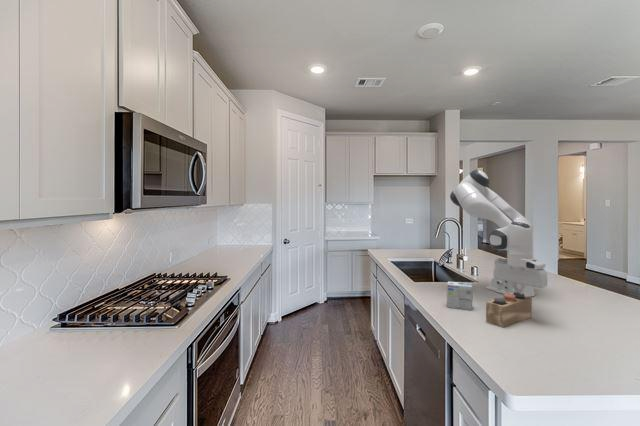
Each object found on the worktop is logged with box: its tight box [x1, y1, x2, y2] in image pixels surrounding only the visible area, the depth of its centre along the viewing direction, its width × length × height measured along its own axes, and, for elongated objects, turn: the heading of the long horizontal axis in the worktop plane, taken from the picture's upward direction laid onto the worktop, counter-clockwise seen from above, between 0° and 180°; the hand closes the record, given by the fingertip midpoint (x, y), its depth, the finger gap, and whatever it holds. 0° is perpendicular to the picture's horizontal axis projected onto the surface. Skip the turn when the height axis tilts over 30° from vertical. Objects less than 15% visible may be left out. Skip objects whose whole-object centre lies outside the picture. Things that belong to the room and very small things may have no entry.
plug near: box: [493, 297, 506, 305], centre depth 128 cm, size 4×4×8 cm
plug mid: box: [503, 294, 515, 302], centre depth 132 cm, size 4×4×8 cm
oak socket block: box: [485, 296, 533, 328], centre depth 132 cm, size 7×21×8 cm, turn 121°
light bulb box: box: [446, 281, 473, 311], centre depth 148 cm, size 11×7×11 cm, turn 65°
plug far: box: [513, 293, 524, 300], centre depth 136 cm, size 4×4×8 cm
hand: (518, 293), depth 135 cm, fingers closed, pressing on plug far
